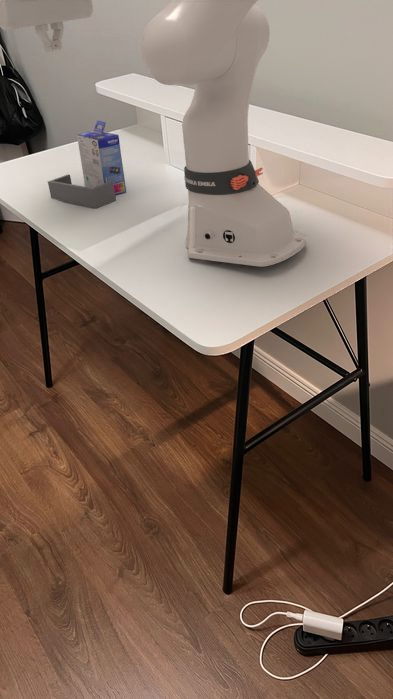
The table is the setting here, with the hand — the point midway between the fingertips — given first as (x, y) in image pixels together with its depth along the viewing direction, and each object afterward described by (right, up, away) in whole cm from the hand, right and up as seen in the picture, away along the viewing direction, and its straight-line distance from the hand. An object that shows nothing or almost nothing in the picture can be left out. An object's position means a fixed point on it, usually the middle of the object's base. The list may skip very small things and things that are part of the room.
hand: (53, 50), depth 119 cm
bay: (+3, -25, +15) cm, 29 cm away
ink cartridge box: (+7, -22, +19) cm, 30 cm away
